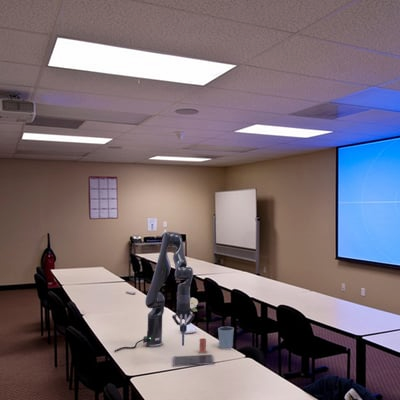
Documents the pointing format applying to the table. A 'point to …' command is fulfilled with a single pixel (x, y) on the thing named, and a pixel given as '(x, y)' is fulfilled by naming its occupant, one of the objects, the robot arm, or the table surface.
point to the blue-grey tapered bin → (226, 337)
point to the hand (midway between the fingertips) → (183, 331)
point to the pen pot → (202, 345)
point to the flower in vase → (189, 327)
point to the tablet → (193, 360)
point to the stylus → (183, 334)
